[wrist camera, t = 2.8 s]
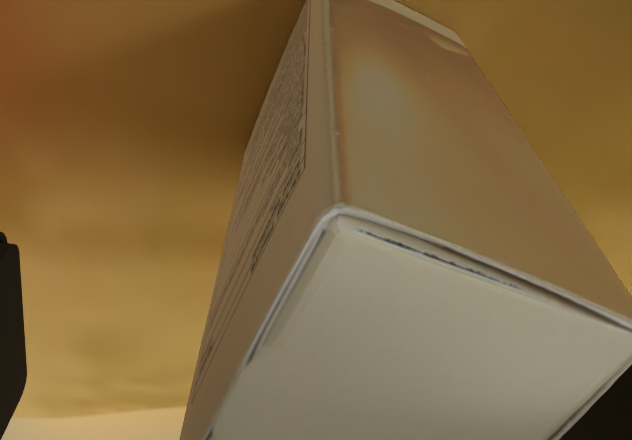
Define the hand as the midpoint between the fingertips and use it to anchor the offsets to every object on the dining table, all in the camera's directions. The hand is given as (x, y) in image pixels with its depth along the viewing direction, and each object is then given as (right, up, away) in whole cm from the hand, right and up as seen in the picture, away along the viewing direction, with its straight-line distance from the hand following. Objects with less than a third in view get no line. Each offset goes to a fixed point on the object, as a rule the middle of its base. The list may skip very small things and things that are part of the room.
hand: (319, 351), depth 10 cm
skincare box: (+1, +6, +8) cm, 10 cm away
